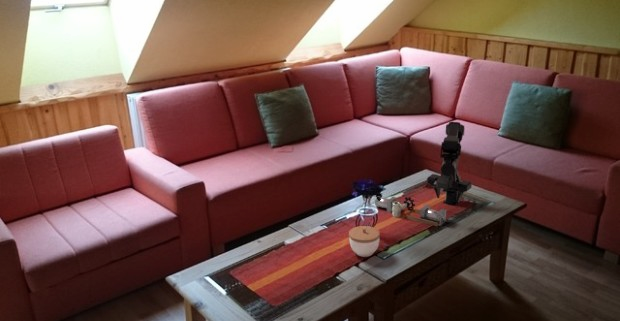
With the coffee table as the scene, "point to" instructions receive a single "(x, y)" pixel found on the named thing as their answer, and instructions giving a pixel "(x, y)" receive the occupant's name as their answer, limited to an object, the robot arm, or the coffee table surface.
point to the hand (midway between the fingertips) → (448, 200)
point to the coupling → (433, 214)
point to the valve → (401, 206)
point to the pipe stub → (386, 203)
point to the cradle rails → (421, 219)
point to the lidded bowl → (364, 240)
